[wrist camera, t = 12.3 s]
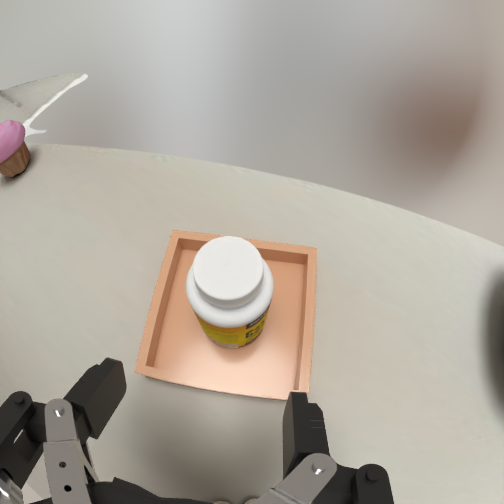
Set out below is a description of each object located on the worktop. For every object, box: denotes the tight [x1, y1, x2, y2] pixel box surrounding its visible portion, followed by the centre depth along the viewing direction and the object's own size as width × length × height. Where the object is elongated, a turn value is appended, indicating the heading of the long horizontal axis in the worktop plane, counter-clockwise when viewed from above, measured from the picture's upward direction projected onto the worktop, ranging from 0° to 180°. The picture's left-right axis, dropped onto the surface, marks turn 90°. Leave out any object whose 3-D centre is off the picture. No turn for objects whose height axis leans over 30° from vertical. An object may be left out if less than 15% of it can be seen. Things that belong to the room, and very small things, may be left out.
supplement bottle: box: [186, 236, 274, 348], centre depth 20 cm, size 6×6×10 cm
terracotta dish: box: [135, 230, 317, 400], centre depth 24 cm, size 14×14×3 cm
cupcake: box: [0, 120, 30, 177], centre depth 31 cm, size 9×9×10 cm
